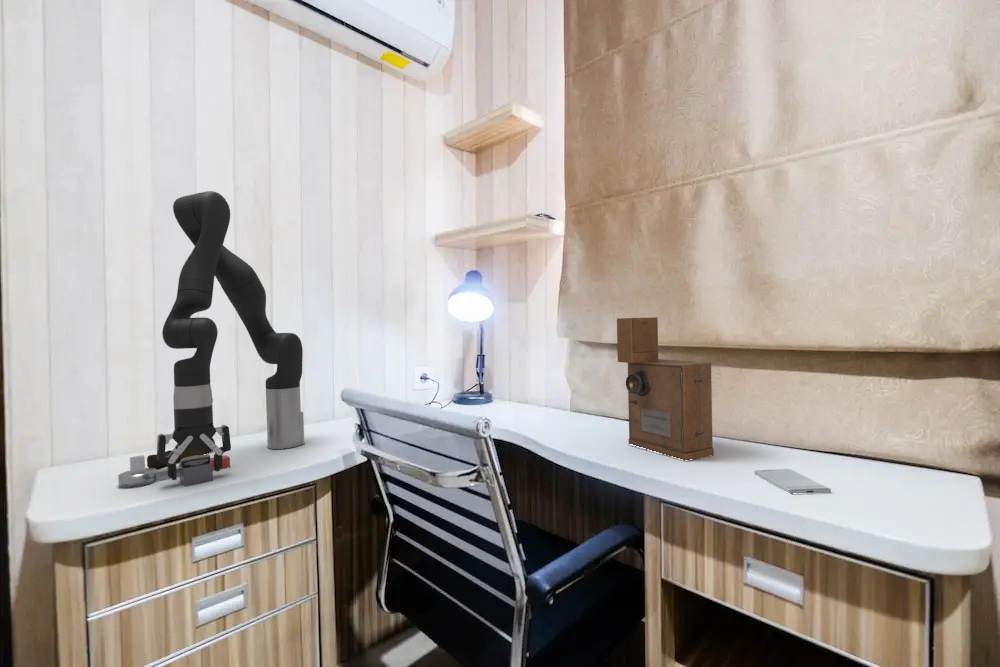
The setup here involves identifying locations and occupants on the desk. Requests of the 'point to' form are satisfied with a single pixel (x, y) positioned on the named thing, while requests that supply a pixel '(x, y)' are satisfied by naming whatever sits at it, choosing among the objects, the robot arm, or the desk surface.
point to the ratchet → (150, 473)
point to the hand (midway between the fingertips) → (195, 474)
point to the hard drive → (791, 481)
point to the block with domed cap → (195, 470)
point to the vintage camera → (664, 394)
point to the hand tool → (154, 463)
